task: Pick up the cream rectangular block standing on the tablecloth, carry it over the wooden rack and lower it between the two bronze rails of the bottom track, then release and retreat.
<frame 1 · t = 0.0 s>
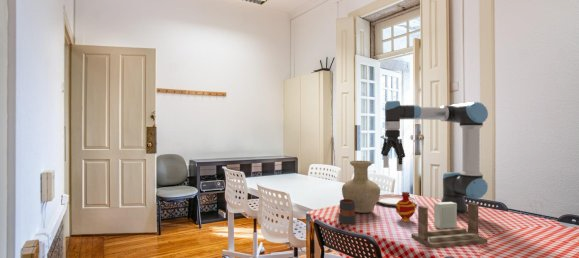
hand: (392, 169, 174), 28 cm above the table, fingers open, 13 cm apart
cream rectangular block: (445, 226, 164), on the table
vase: (360, 211, 194), on the table
potion bottle: (405, 220, 176), on the table
wooden rack: (448, 239, 145), on the table
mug: (347, 222, 173), on the table
dinner plate: (394, 203, 217), on the table
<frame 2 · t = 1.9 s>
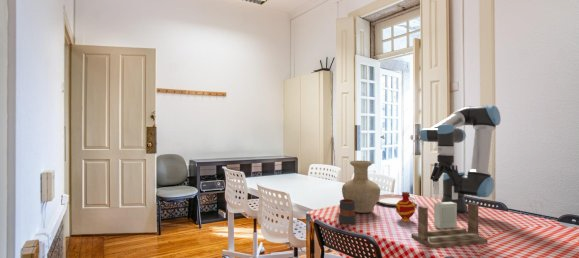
hand: (445, 196, 164), 15 cm above the table, fingers open, 13 cm apart
nothing on the table moved.
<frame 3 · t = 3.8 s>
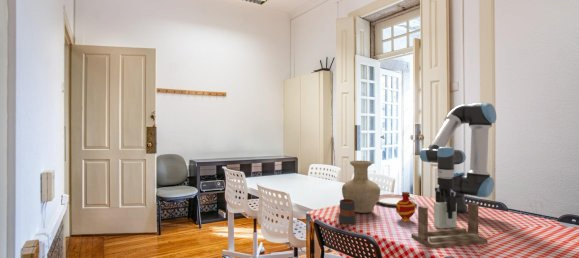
hand: (445, 223, 164), 2 cm above the table, fingers closed on cream rectangular block, 4 cm apart
cream rectangular block: (445, 226, 165), on the table, touching gripper
everything else where it was.
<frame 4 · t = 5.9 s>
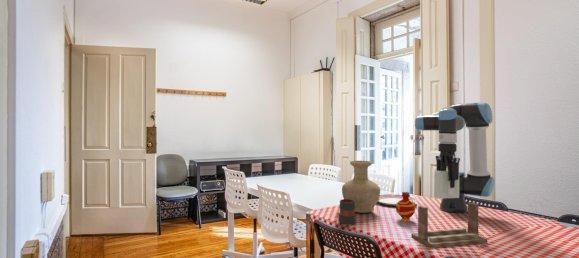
hand: (447, 193, 149), 20 cm above the table, fingers closed on cream rectangular block, 4 cm apart
cream rectangular block: (446, 197, 149), point 18 cm above the table, touching gripper
everything else where it was.
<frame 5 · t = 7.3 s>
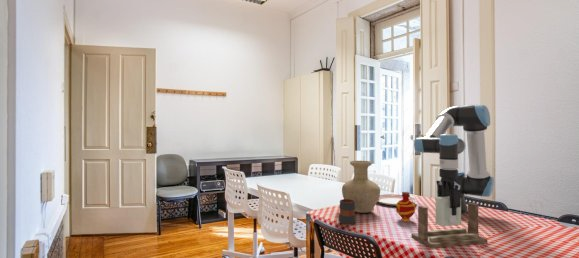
hand: (448, 220, 145), 9 cm above the table, fingers closed on cream rectangular block, 4 cm apart
cream rectangular block: (448, 224, 145), point 7 cm above the table, touching gripper
everything else where it was.
when the fingers open (5 cm above the table, at t = 8.3 s): cream rectangular block drops 1 cm, resting on wooden rack.
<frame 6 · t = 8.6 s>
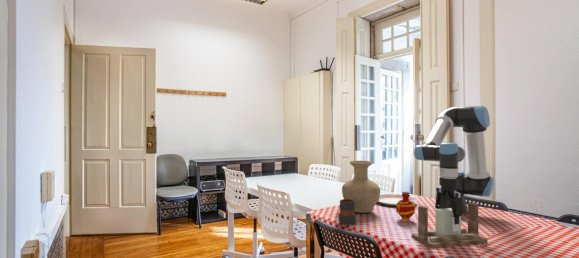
hand: (448, 228, 145), 5 cm above the table, fingers open, 8 cm apart
cream rectangular block: (448, 236, 145), point 1 cm above the table, touching wooden rack
everything else where it was.
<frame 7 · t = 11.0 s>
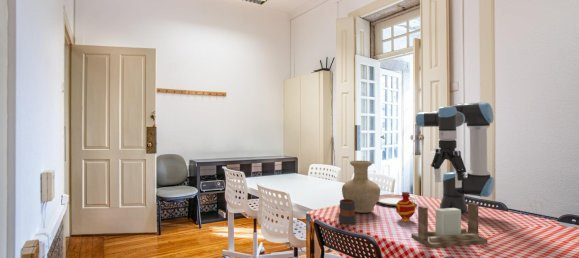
hand: (447, 184, 153), 23 cm above the table, fingers open, 13 cm apart
nothing on the table moved.
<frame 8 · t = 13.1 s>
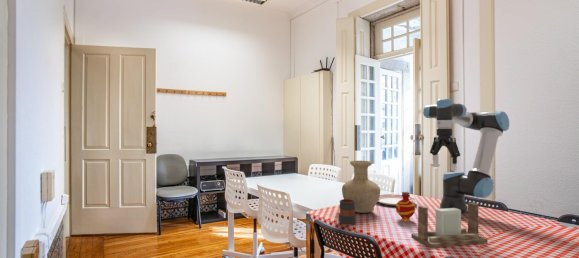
hand: (444, 168, 171), 29 cm above the table, fingers open, 13 cm apart
nothing on the table moved.
at the end: cream rectangular block inside the target area on the wooden rack (0.2 cm from its centre), point 1.5 cm above the wooden rack's base; cream rectangular block tilted 0°; the gripper is holding nothing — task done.
